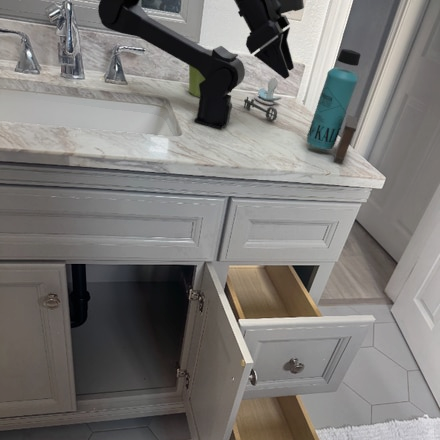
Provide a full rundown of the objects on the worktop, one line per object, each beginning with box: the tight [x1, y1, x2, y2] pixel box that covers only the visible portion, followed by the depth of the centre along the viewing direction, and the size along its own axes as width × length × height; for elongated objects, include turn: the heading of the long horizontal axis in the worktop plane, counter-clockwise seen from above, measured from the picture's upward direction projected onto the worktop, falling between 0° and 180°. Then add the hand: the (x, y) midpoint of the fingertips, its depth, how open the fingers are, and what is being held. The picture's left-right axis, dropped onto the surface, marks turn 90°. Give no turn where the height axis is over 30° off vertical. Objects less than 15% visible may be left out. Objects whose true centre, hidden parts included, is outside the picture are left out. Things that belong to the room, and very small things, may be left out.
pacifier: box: [254, 77, 282, 106], centre depth 115 cm, size 7×6×6 cm
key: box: [243, 96, 278, 122], centre depth 105 cm, size 12×1×3 cm, turn 39°
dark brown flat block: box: [333, 114, 358, 165], centre depth 91 cm, size 2×9×8 cm, turn 164°
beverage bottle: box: [306, 48, 361, 150], centre depth 88 cm, size 6×7×20 cm
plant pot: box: [188, 65, 205, 98], centre depth 109 cm, size 9×9×9 cm
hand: (289, 73), depth 86 cm, fingers open, 9 cm apart
